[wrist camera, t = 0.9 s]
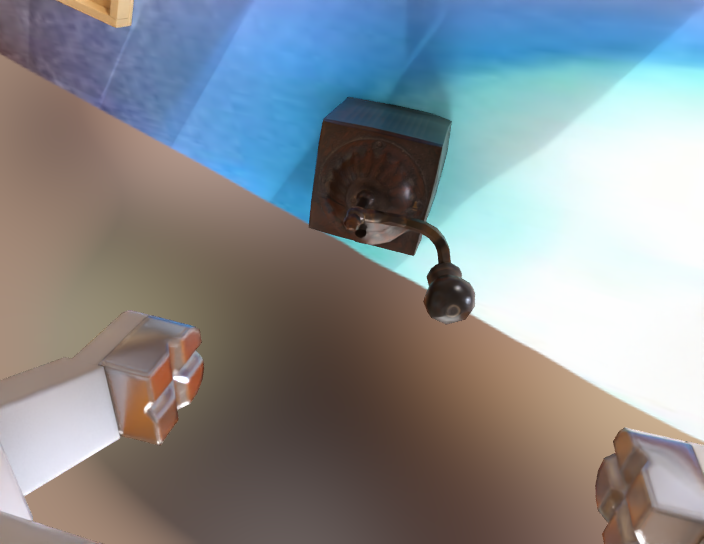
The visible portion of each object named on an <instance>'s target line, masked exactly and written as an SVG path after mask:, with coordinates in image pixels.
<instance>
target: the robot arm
mask: <svg viewBox="0 0 704 544" xmlns="http://www.w3.org/2000/svg"><path fill="white" fill-rule="evenodd" d="M201 343H202V342H201V335H200V330H199V329H198V328H196V327H195V326H191V325H187V324H184V323H179V322H176V321H172V320H168V319H164V318H161V317H156V316H153V315H152V316H150V315H147V314H143V313H139V312H136V311H132V310H129V311H126V312H123V313H121V314H120V315H119V316H118V317H117V318H116V319H115V320H114V321H113V322H111V323H110V324H109V325H108V326H107V327H106V328H105V329H104V330H103V331H102V332H100V333H99V334H98V335H97V336H96V337H95V338H94V339H93V340H92V341H91V342H90V343H88V344H87V345H86V346H85V347H84V348H83V349H82V350H81V351H80V352H79V353H78V354H76V355H75V356H74V357H73V358H67V357H63V358H61V359H58V360H55V361H52V362H50V363H47V364H44V365H41V366H39V367H36V368H33V369H30V370H27V371H25V372H22V373H19V374H16V375H13V376H10V377H8V378H5V379H3V380H0V544H103V543H99V542H96V541H93V540H90V539H87V538H83V537H80V536H78V535H74V534H71V533H68V532H65V531H62V530H59V529H55V528H53V527H49V526H46V525H43V524H40V523H37V522H34V521H33V516H32V514H31V511H30V509H29V507H28V504H27V502H26V500H25V498H24V496H25V495H27V494H29V493H30V492H32V491H33V490H35V489H37V488H39V487H40V486H42V485H43V484H45V483H47V482H48V481H50V480H52V479H53V478H55V477H57V476H58V475H60V474H62V473H63V472H65V471H66V470H68V469H70V468H72V467H73V466H75V465H76V464H78V463H79V462H81V461H83V460H85V459H86V458H88V457H90V456H91V455H93V454H95V453H96V452H98V451H100V450H101V449H103V448H105V447H106V446H108V445H109V444H111V443H113V442H114V441H116V440H118V439H119V438H120V436H124V437H128V438H132V439H136V440H140V441H144V442H148V443H152V444H156V445H161V444H162V442H163V441H164V439H165V438H166V437H167V435H168V434H169V432H170V431H171V430H172V428H173V427H174V425H175V424H176V423H177V421H178V412H177V410H178V409H180V408H182V407H184V406H185V405H188V404H190V403H191V401H192V400H193V398H194V397H195V395H196V394H197V392H198V389H199V387H200V384H201V382H202V378H203V371H204V366H203V365H204V364H203V358H202V357H201V356H200V354H199V353H198V352H197V351H196V349H197V348H198V347H199V345H200V344H201ZM613 443H614V447H615V452H616V453H614V454H612V455H610V456H608V457H605V458H604V460H603V462H602V464H601V466H600V468H599V470H598V474H597V480H596V485H595V487H596V502H597V509H598V511H599V512H600V514H601V515H602V516H603V517H604V519H605V520H606V521H607V522H608V525H607V526H606V528H605V530H604V531H603V533H602V536H603V542H604V544H704V445H700V444H696V443H692V442H687V441H685V442H684V441H682V440H677V439H672V438H668V437H664V436H659V435H655V434H651V433H646V432H642V431H638V430H633V429H629V428H623V429H622V430H621V431H619V432H618V434H617V436H616V437H615V439H614V441H613Z"/></svg>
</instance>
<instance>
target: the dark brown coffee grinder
mask: <svg viewBox="0 0 704 544" xmlns="http://www.w3.org/2000/svg"><path fill="white" fill-rule="evenodd" d="M451 122H452V121H450V120H447V119H445V118H442V117H440V116H437V115H435V114H431V113H427V112H423V111H419V110H414V109H410V108H405V107H400V106H396V105H391V104H386V103H380V102H374V101H369V100H363V99H357V98H352V97H347V99H346V100H345V101H343V102H342V103H341V104H340V105H339V106H338V107H336V108H335V109H334V110H333V111H332V112H331V113H330V114H328V115H327V116H326V117H325V118H324V119H323V123H322V128H321V134H320V139H319V146H318V153H317V161H316V169H315V176H314V184H313V191H312V199H311V210H310V219H309V228H312V229H315V230H318V231H322V232H325V233H328V234H332V235H335V236H339V237H343V238H347V239H350V240H354V241H356V242H359V243H364V244H369V245H373V246H377V247H381V248H384V249H388V250H392V251H396V252H400V253H404V254H408V255H412V256H414V255H415V253H416V250H417V248H418V245H419V243H420V241H421V238H422V234H423V235H425V236H426V237H428V238H429V239H430V240H431V241H432V242H433V244H434V245H435V247H436V249H437V253H438V262H439V264H437V265H435V266H434V267H433V268H431V270H430V272H429V273H428V275H427V280H428V284H429V288H428V290H427V292H426V295H425V297H424V304H425V307H426V309H427V312H428V314H429V315H430V316H431V318H433V319H435V320H437V321H440V322H442V323H444V324H450V323H454V322H458V321H462V320H465V319H466V318H467V317H468V315H469V314H470V313H471V311H472V310H473V308H474V306H475V292H474V289H473V288H472V286H471V284H470V283H469V282H467V281H465V280H464V279H462V278H461V277H462V273H461V271H460V269H459V268H458V267H457V266H455V265H453V264H452V263H451V260H450V251H449V246H448V244H447V242H446V239H445V237H444V236H443V235H442V234H441V232H440V231H439V230H438V229H437V228H436V227H434V226H432V225H431V224H429V223H427V222H426V220H427V217H428V215H429V212H430V209H431V206H432V203H433V201H434V198H435V195H436V191H437V188H438V184H439V181H440V177H441V174H442V170H443V166H444V162H445V158H446V154H447V150H448V143H449V136H450V129H451Z"/></svg>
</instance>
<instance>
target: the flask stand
mask: <svg viewBox="0 0 704 544" xmlns="http://www.w3.org/2000/svg"><path fill="white" fill-rule="evenodd" d="M57 1H59V2H61V3H63V4H65V5H68V6H70V7H72V8H74V9H76V10H78V11H81V12H83V13H85V14H87V15H89V16H91V17H94V18H96V19H98V20H100V21H102V22H104V23H107V24H109V25H111V26H113V27H115V28H119V27H125V26H131V21H132V12H133V3H134V0H57Z"/></svg>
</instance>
